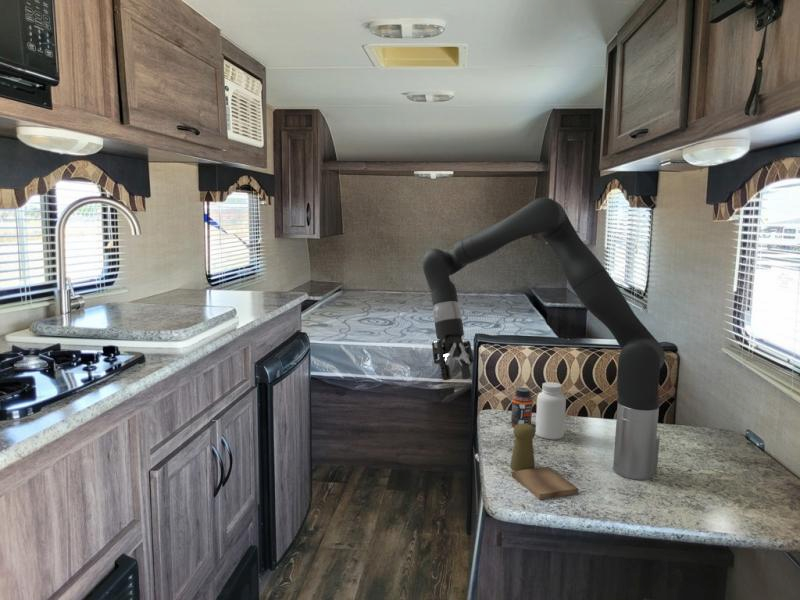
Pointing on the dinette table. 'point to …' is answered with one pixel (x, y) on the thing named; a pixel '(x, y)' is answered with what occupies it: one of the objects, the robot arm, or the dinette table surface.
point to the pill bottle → (550, 412)
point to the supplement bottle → (521, 407)
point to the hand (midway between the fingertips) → (457, 379)
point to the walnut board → (544, 482)
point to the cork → (523, 448)
